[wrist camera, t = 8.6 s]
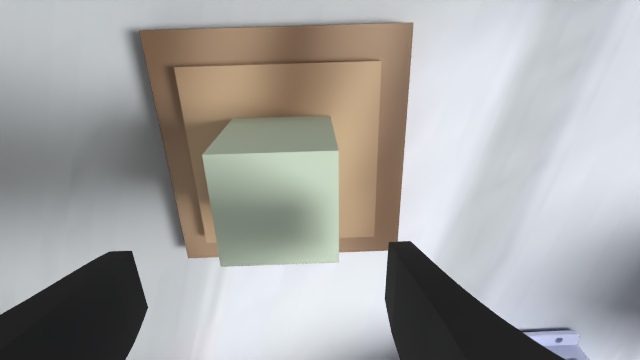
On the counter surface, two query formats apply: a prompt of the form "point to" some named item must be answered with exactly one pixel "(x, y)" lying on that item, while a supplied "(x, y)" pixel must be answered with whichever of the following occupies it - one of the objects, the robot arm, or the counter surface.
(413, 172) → the counter surface
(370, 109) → the walnut base
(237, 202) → the sage block
